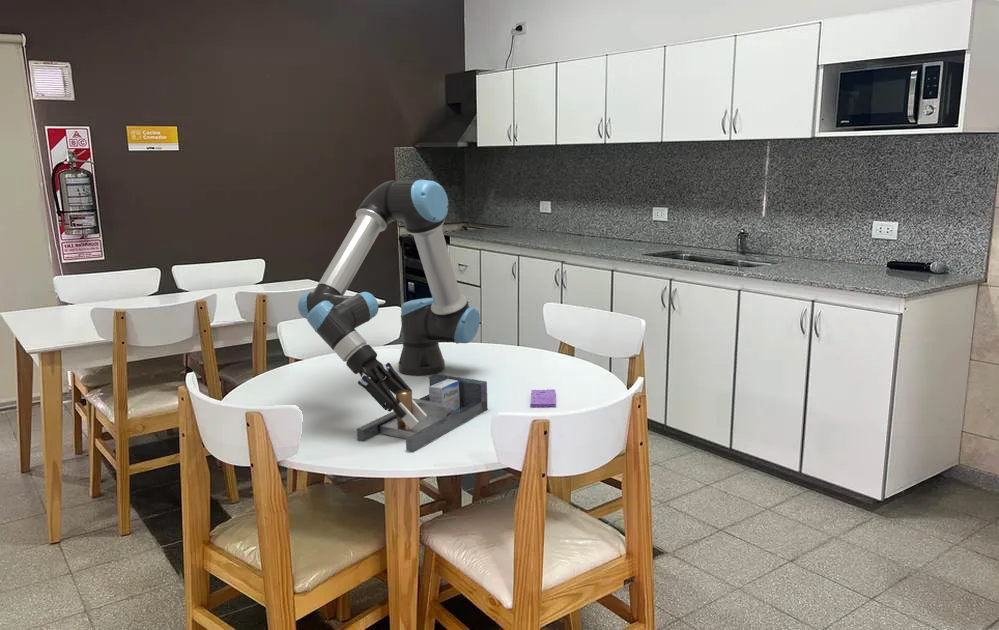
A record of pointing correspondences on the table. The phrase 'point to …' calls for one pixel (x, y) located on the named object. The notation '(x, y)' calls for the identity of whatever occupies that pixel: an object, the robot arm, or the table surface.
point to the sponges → (543, 398)
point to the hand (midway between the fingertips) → (418, 422)
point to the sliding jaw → (399, 427)
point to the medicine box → (446, 393)
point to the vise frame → (470, 406)
